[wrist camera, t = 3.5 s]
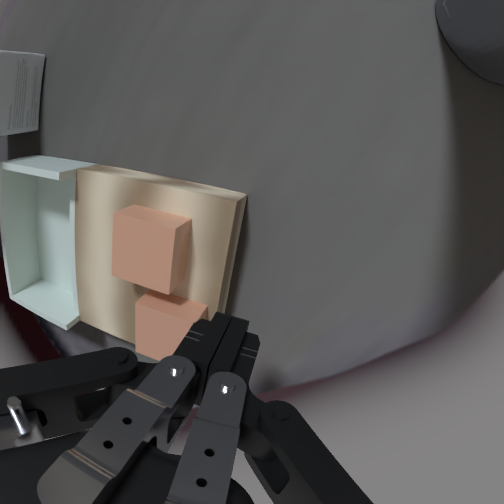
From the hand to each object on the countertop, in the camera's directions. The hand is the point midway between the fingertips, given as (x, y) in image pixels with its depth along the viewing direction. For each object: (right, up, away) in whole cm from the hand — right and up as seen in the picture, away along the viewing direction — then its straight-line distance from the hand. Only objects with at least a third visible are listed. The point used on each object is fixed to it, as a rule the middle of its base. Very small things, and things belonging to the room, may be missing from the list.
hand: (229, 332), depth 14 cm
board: (-7, +3, +12) cm, 14 cm away
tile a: (-5, +4, +8) cm, 10 cm away
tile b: (-5, -2, +10) cm, 11 cm away
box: (-17, +6, +13) cm, 23 cm away
